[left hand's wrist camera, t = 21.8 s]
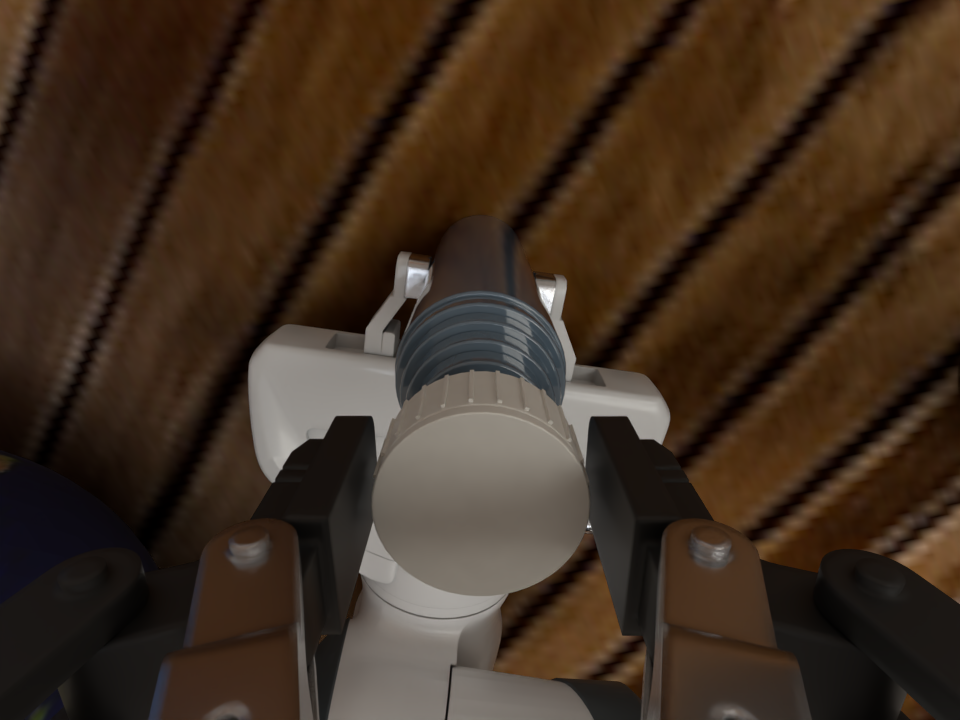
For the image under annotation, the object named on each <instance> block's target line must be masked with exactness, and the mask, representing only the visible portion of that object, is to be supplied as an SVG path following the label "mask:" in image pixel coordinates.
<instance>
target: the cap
mask: <svg viewBox="0 0 960 720" xmlns="http://www.w3.org/2000/svg"><path fill="white" fill-rule="evenodd" d="M373 478H374V479H375V481H374V486H373V490H372V500H371V509H372V518H373V522H374V526H375V529H376V532H377V534H378V536H379V539H380V541H381V543H382V544H383V546H384V548H385V549H386V551H387V552H388V554H389V555H390V556H391V557H392V558H393V560H394V561H395V562H396V563H397V564H398V565H399V566H400V567H401V568H402V569H403V570H405V571H406V572H408V573H409V574H410V575H412V576H413V577H414V578H416V579H418V580H420V581H421V582H423V583H425V584H427V585H430V586H432V587H434V588H437V589H440V590H443V591H446V592H449V593H454V594H459V595H467V596H494V595H503V594H507V593H512V592H516V591H519V590H522V589H525V588H528V587H530V586H532V585H534V584H536V583H538V582H540V581H542V580H544V579H545V578H547V577H549V576H550V575H552V574H553V573H554V572H555V571H557V570H558V569H559V568H560V567H561V566H562V565H563V564H564V563H565V562H566V561H567V560H568V559H569V558H570V557H571V556H572V554H573V553H574V552H575V550H576V549H577V547H578V546H579V544H580V542H581V540H582V538H583V536H584V533H585V531H586V528H587V525H588V520H589V516H590V504H591V502H590V491H589V487H588V486H589V485H590V482H589V479H588V476H587V473H586V470H585V466H584V459H583V456H582V453H581V450H580V446H579V443H578V440H577V437H576V434H575V431H574V428H573V426H572V424H571V425H569V424H568V422H567V419H566V418H565V415H564V412H563V409H562V407H561V405H559V406H557V405H556V404H555V402H554V401H553V400H552V399H551V398H550V397H549V396H547V395H546V391H545V390H544V389H542V390H540V389H538V388H537V387H535V386H534V385H532V384H530V383H528V382H526V381H525V380H524V378H522V377H520V379H519V378H517V377H514V376H511V375H507V374H502V373H500V371H495V372H488V371H474V370H470V372H465V373H459V374H455V375H451V376H449V374H448V375H445V377H444V378H442V379H440V380H437V381H435V382H433V383H431V384H430V385H428V386H426V385H424V386H422V389H421V390H420V391H419V392H418V393H416V394H415V395H414V396H413V397H412V398H411V399H410V400H409V401H408V400H405V401H404V404H403V407H402V409H401V410H400V412H399V413H398V415H397V417H396V419H394V418H392V420H391V423H390V426H389V429H388V432H387V435H386V438H385V440H384V443H383V446H382V449H381V452H380V455H379V459H378V462H377V465H376V468H375V471H374V474H373Z"/></svg>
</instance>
